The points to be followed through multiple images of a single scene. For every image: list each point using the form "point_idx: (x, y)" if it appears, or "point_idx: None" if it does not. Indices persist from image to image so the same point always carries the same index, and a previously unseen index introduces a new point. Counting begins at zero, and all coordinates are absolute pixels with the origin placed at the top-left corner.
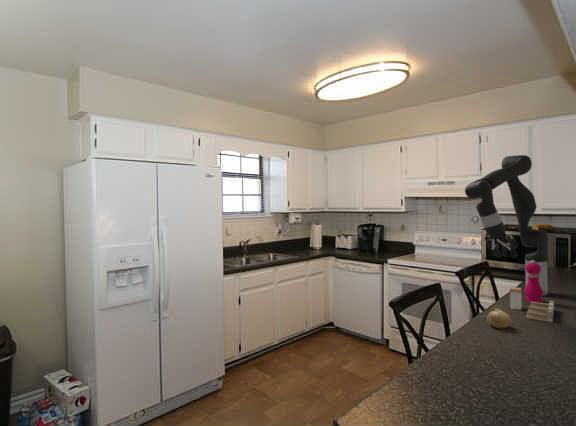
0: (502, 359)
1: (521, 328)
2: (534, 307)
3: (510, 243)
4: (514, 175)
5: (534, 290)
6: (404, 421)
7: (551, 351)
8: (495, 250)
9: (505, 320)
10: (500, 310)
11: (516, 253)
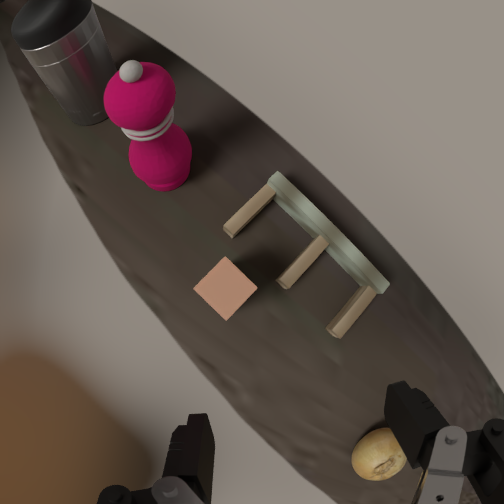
0: (470, 483)
1: None
2: (297, 270)
3: (493, 500)
4: None
5: (180, 161)
6: None
7: (481, 404)
8: (209, 499)
9: None
10: (395, 461)
11: (429, 404)
